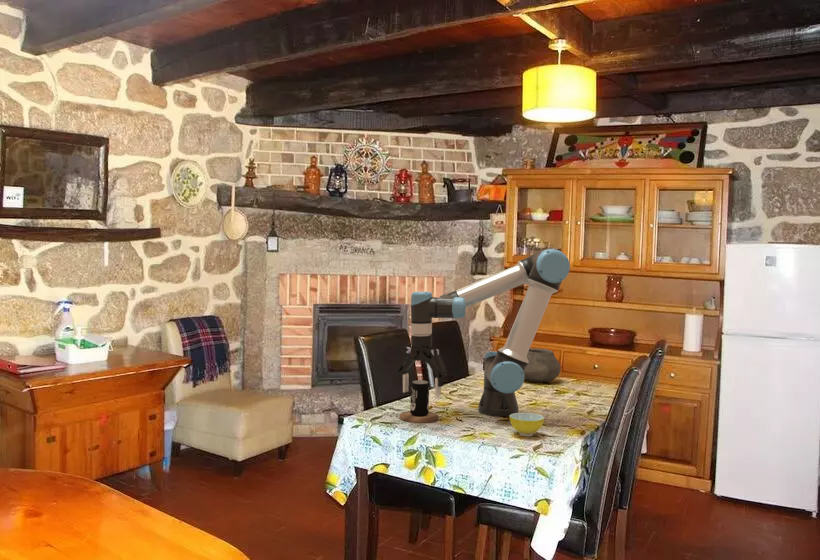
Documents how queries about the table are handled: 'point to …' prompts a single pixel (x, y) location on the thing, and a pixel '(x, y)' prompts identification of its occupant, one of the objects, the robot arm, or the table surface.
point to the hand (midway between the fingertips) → (421, 393)
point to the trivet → (414, 419)
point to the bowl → (526, 423)
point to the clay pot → (541, 366)
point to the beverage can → (419, 398)
